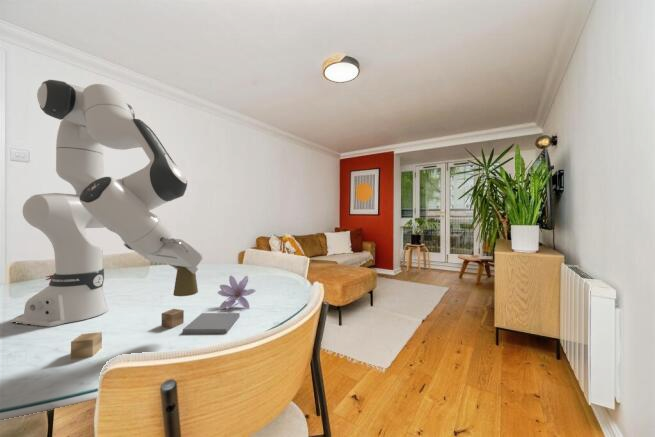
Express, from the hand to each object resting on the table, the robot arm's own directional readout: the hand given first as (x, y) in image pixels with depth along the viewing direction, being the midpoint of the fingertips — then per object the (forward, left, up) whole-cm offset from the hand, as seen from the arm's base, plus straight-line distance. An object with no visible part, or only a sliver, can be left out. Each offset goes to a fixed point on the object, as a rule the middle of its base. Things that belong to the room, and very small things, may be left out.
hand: (188, 270), depth 72 cm
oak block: (-18, -11, -18) cm, 27 cm away
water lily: (+6, +21, -18) cm, 28 cm away
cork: (0, -1, -6) cm, 7 cm away
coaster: (+5, +5, -17) cm, 19 cm away
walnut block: (-7, +5, -18) cm, 20 cm away
